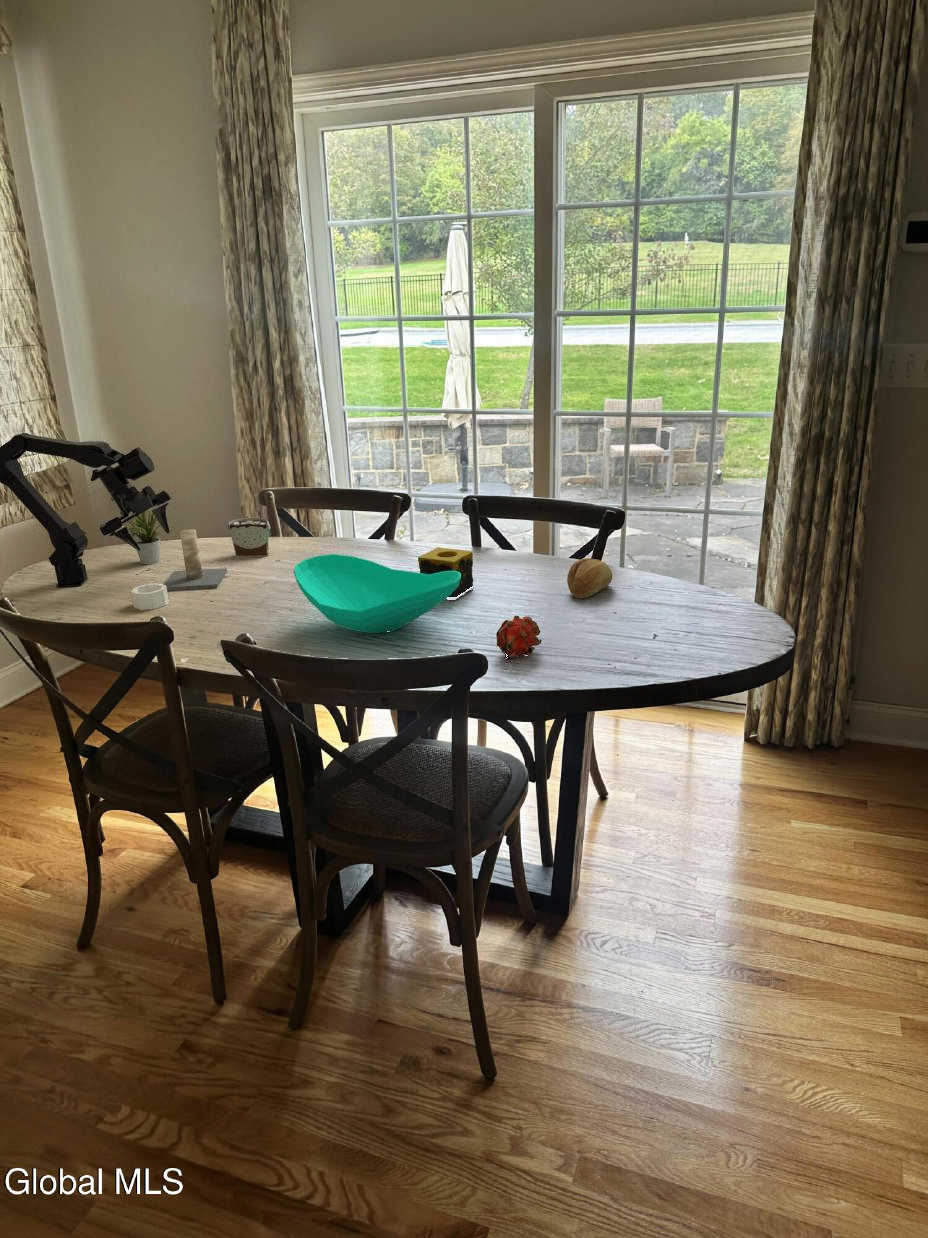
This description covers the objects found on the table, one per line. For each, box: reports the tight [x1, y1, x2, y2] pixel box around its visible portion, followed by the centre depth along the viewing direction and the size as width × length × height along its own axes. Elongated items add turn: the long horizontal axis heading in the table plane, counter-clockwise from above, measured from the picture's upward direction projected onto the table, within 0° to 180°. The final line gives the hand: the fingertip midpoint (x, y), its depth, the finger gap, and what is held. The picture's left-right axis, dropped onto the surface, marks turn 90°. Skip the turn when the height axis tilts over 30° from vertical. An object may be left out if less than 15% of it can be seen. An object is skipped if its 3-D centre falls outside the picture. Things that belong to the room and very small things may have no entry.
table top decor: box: [293, 553, 461, 634], centre depth 187 cm, size 40×28×13 cm
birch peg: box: [179, 528, 203, 580], centre depth 223 cm, size 4×4×12 cm
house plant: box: [118, 508, 162, 565], centre depth 242 cm, size 14×14×16 cm
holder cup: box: [130, 582, 170, 611], centre depth 208 cm, size 8×8×4 cm
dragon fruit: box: [495, 615, 542, 659], centre depth 171 cm, size 8×8×12 cm
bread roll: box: [566, 557, 613, 599], centre depth 205 cm, size 10×15×8 cm, turn 150°
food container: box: [227, 517, 271, 557], centre depth 246 cm, size 12×6×10 cm, turn 84°
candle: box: [417, 546, 474, 597], centre depth 208 cm, size 10×10×10 cm
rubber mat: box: [162, 567, 228, 592], centre depth 225 cm, size 14×14×1 cm
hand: (154, 541), depth 223 cm, fingers open, 9 cm apart
